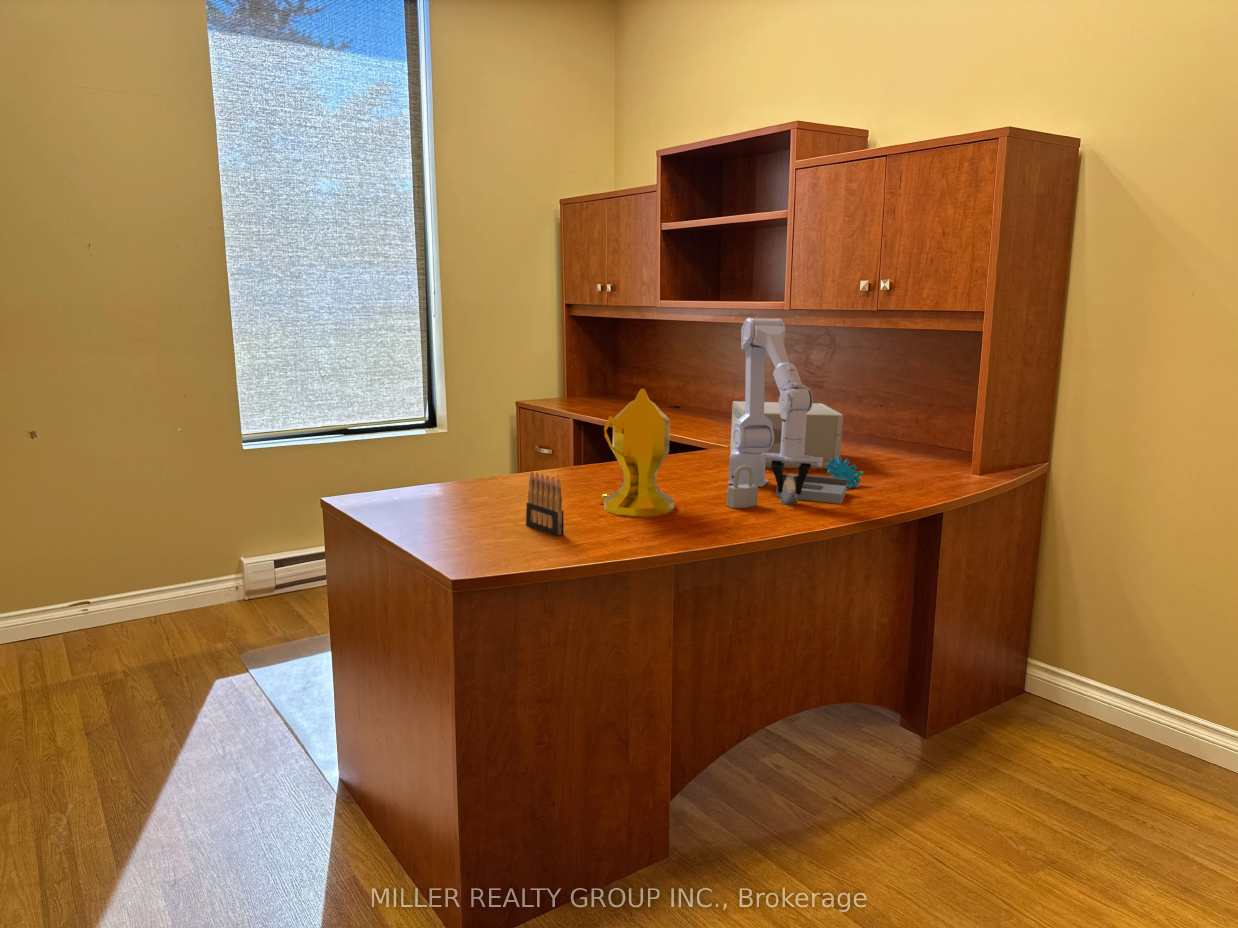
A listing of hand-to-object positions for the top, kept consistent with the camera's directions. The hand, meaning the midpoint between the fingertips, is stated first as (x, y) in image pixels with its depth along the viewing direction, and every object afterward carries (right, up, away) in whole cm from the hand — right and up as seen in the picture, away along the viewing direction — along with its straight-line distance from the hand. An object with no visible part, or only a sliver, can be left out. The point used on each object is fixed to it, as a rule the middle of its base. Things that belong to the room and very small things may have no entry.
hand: (789, 492), depth 208 cm
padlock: (-12, -3, -4) cm, 13 cm away
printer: (+9, +8, +57) cm, 58 cm away
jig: (+7, -1, +9) cm, 12 cm away
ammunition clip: (-57, -7, -28) cm, 64 cm away
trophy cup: (-38, -3, -7) cm, 39 cm away
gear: (+19, +1, +21) cm, 29 cm away
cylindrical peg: (0, -3, 0) cm, 3 cm away
